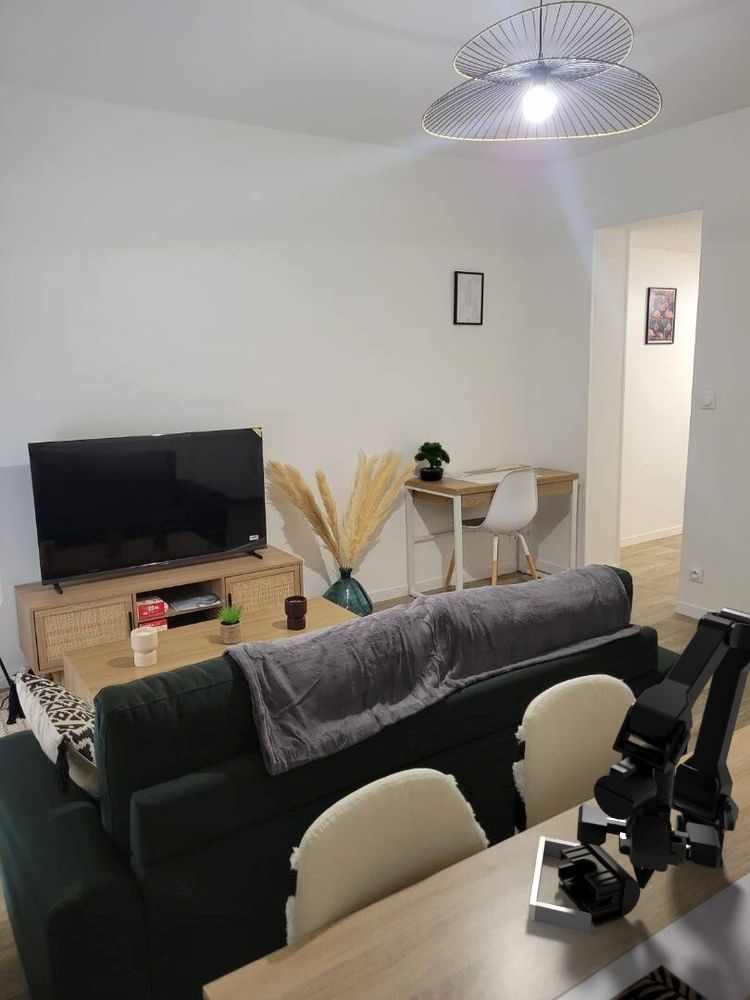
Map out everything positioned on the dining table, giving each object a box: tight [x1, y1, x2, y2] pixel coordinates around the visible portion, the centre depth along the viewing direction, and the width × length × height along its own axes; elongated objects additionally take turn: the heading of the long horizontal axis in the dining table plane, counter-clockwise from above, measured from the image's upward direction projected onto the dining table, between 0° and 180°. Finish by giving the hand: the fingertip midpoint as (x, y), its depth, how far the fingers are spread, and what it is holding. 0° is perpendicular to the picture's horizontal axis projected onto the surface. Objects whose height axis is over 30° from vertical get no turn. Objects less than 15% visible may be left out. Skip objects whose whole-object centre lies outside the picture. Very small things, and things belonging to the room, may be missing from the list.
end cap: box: [557, 842, 641, 927], centre depth 112 cm, size 10×7×7 cm
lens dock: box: [528, 835, 592, 934], centre depth 114 cm, size 8×16×2 cm, turn 163°
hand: (641, 886), depth 111 cm, fingers closed
